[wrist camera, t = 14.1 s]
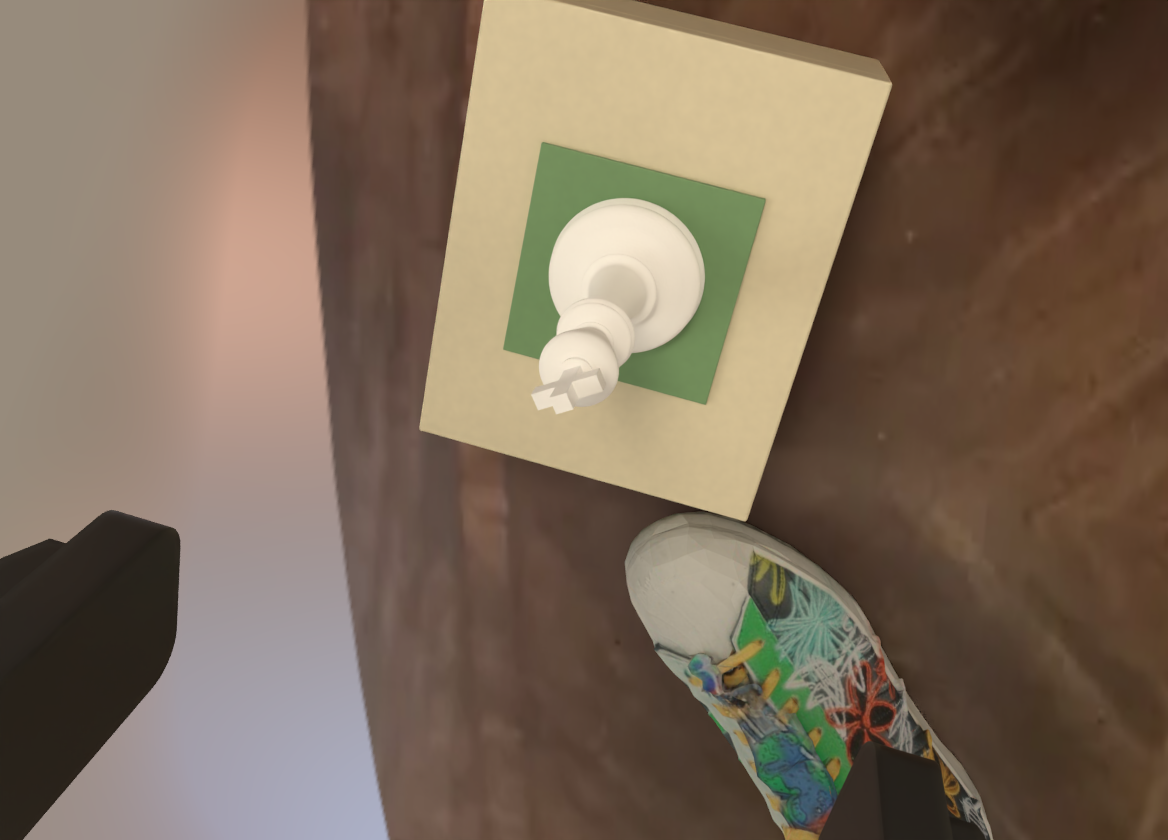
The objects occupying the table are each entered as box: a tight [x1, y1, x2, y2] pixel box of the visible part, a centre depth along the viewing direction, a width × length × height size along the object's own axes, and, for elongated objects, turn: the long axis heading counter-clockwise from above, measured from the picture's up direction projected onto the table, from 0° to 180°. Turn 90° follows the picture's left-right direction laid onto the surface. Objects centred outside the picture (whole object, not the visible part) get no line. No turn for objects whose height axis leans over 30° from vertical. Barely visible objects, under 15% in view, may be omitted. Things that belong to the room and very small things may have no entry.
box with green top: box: [419, 0, 892, 521], centre depth 35 cm, size 12×15×6 cm
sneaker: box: [625, 512, 993, 840], centre depth 41 cm, size 8×21×10 cm, turn 41°
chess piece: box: [531, 198, 705, 414], centre depth 28 cm, size 5×5×10 cm
